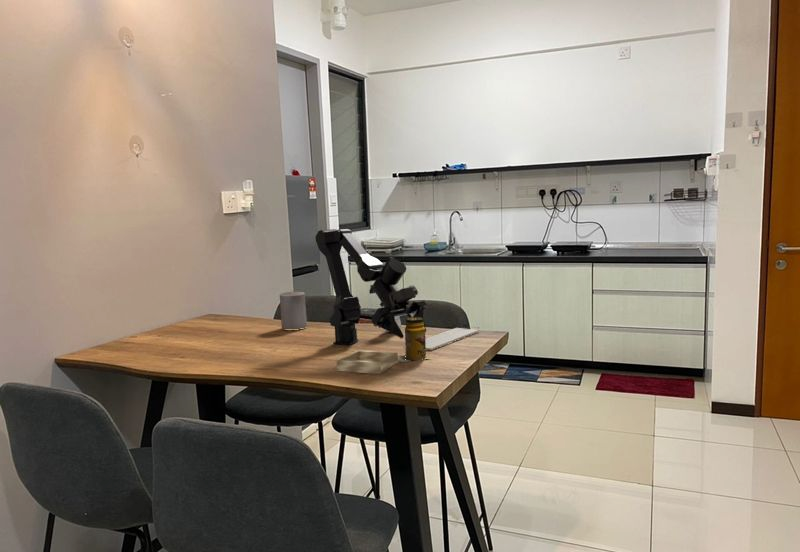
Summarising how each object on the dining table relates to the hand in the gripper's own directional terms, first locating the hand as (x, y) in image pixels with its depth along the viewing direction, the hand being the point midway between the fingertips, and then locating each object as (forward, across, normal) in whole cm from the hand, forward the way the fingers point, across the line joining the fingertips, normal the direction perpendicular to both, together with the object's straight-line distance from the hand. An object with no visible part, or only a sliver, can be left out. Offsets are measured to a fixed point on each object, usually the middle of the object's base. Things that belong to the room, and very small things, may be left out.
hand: (414, 334), depth 175 cm
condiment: (+5, 0, +6) cm, 7 cm away
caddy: (+2, -15, +8) cm, 17 cm away
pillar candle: (-45, +3, +55) cm, 71 cm away
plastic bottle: (-19, +21, +29) cm, 41 cm away
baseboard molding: (-3, +23, +14) cm, 27 cm away
